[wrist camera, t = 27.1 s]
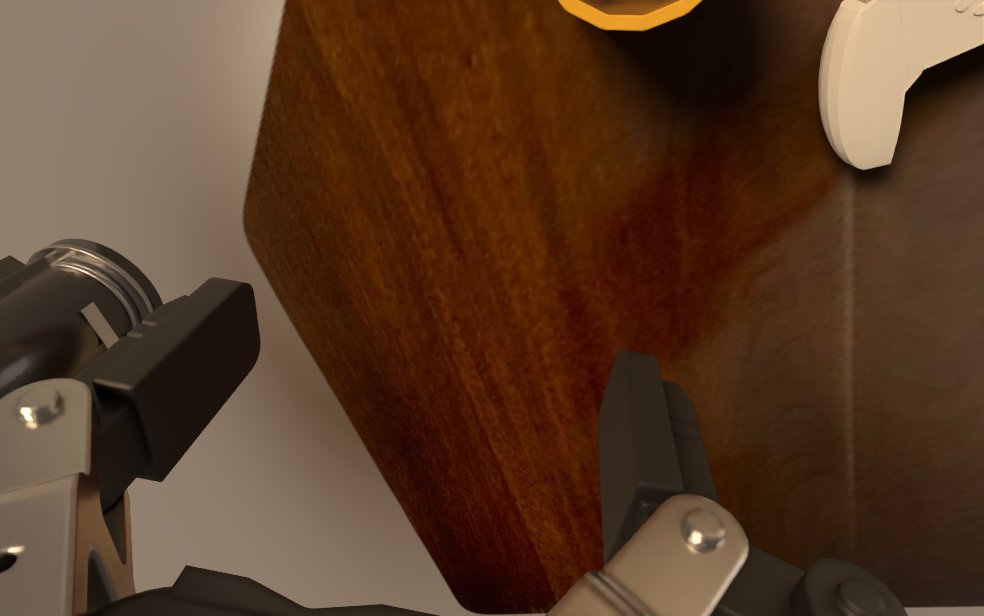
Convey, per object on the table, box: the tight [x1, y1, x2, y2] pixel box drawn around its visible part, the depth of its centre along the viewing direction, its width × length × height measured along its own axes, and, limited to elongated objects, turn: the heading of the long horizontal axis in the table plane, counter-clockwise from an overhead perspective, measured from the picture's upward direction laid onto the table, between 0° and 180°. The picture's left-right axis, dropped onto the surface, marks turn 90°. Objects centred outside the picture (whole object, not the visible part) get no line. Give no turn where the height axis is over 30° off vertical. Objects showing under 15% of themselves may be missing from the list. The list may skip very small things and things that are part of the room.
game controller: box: [818, 0, 984, 170], centre depth 28 cm, size 14×4×10 cm
